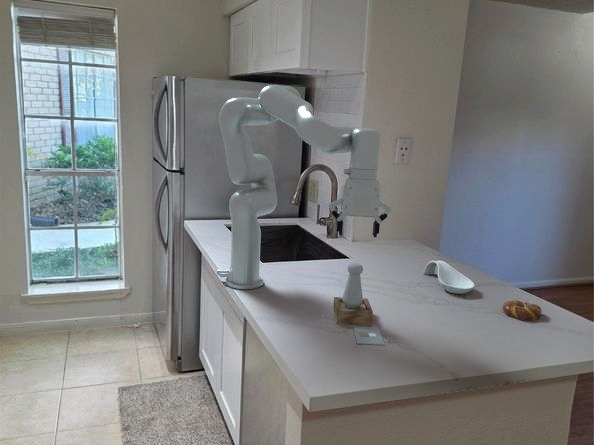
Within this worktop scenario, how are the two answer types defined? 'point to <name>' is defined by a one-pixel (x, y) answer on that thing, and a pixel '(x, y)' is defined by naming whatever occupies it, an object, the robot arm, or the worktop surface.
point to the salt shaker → (353, 287)
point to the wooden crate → (352, 313)
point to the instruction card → (368, 335)
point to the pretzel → (522, 310)
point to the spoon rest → (449, 277)
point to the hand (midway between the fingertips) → (357, 235)
